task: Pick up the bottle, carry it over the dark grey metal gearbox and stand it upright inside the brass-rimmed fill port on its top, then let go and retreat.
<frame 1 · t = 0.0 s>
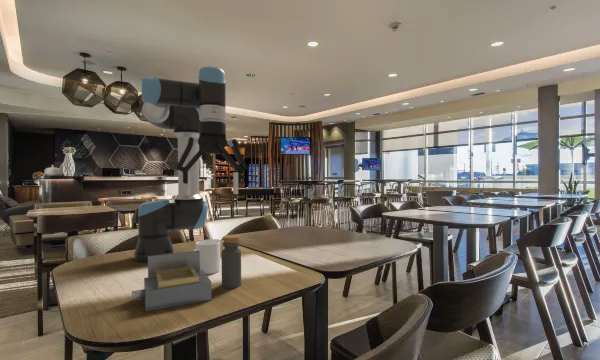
hand: (213, 194, 94), 28 cm above the table, fingers open, 13 cm apart
mug: (204, 273, 111), on the table
bottle: (231, 285, 98), on the table
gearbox: (177, 297, 88), on the table
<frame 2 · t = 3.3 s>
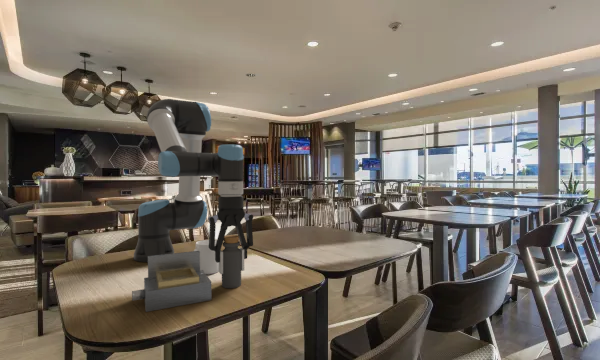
hand: (231, 270, 98), 4 cm above the table, fingers closed on bottle, 6 cm apart
bottle: (231, 285, 98), on the table, touching gripper
everything else where it was.
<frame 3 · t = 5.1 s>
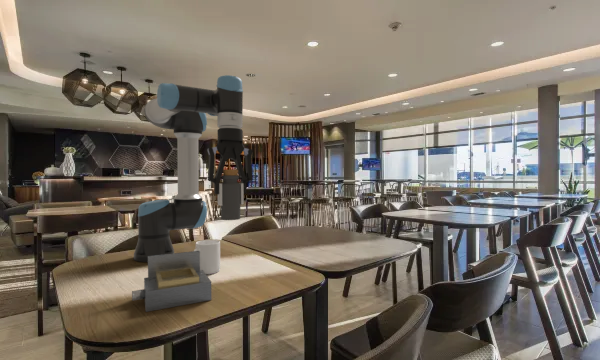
hand: (230, 204, 98), 25 cm above the table, fingers closed on bottle, 6 cm apart
bottle: (230, 219, 98), point 20 cm above the table, touching gripper
everything else where it was.
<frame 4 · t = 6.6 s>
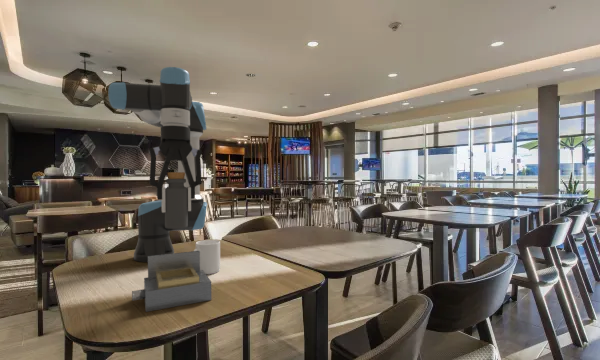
hand: (176, 211, 88), 24 cm above the table, fingers closed on bottle, 6 cm apart
bottle: (176, 227, 88), point 19 cm above the table, touching gripper
everything else where it was.
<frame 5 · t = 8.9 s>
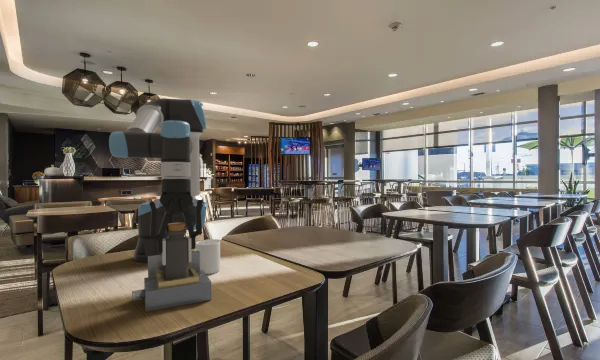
hand: (176, 262, 88), 10 cm above the table, fingers closed on bottle, 6 cm apart
bottle: (177, 278, 88), point 5 cm above the table, touching gripper
everything else where it was.
when the fingers open (9 cm above the table, at t = 10.2 s): bottle stays where it is, resting on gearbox.
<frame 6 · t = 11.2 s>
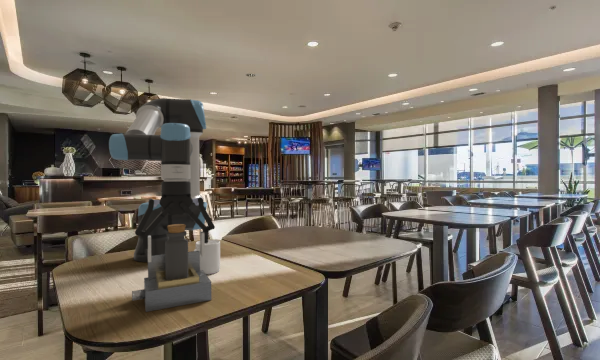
hand: (176, 258, 88), 11 cm above the table, fingers open, 13 cm apart
bottle: (177, 280, 88), point 5 cm above the table, touching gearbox
everything else where it was.
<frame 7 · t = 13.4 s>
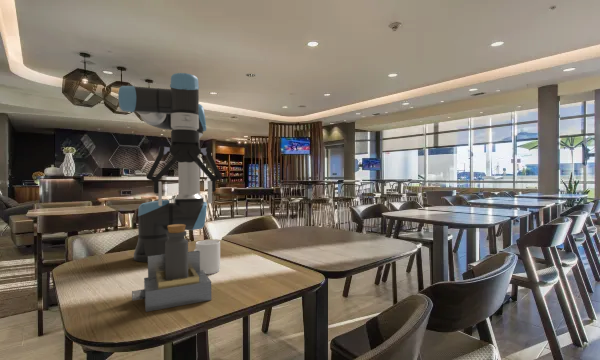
hand: (185, 204, 92), 25 cm above the table, fingers open, 13 cm apart
nothing on the table moved.
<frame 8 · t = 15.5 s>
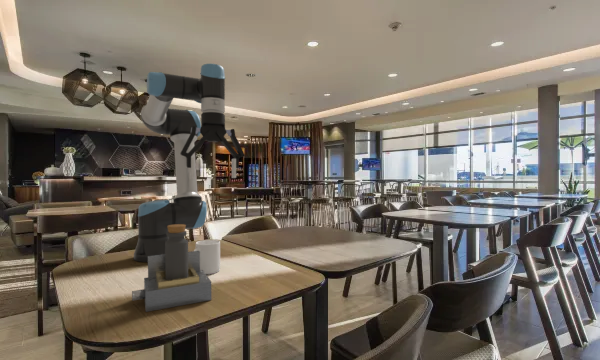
hand: (213, 178, 105), 33 cm above the table, fingers open, 13 cm apart
nothing on the table moved.
at the end: bottle inside the target area on the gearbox (0.1 cm from its centre), point 4.8 cm above the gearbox's base; bottle tilted 0°; the gripper is holding nothing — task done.
